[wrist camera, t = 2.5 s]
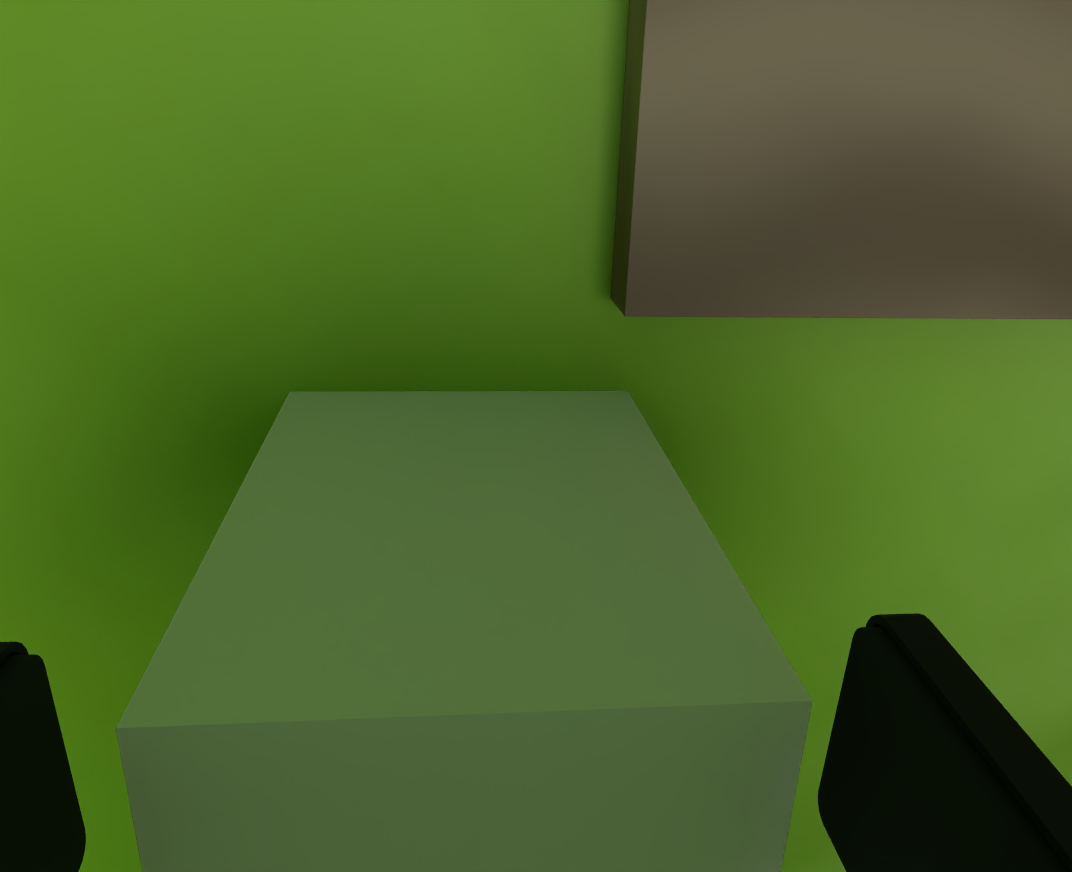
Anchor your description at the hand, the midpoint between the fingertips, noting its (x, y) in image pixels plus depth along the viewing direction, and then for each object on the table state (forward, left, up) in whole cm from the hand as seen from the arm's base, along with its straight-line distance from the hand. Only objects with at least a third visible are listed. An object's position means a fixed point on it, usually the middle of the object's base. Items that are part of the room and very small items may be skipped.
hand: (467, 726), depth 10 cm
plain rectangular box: (-1, 0, -9) cm, 9 cm away
